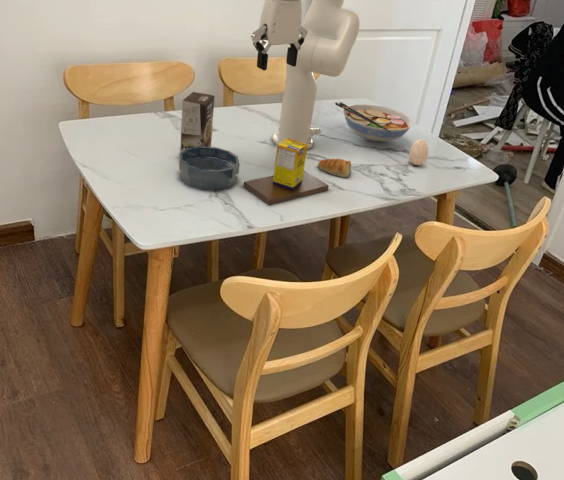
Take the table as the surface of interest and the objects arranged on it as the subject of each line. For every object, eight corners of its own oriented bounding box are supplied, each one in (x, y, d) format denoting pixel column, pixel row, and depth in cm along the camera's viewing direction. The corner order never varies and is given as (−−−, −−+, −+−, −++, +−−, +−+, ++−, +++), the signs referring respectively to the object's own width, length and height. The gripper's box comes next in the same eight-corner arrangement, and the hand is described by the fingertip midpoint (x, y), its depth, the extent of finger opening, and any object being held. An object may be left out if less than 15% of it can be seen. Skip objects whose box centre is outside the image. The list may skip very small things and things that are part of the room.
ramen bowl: (424, 148, 197) (431, 124, 192) (372, 157, 185) (378, 131, 180) (373, 121, 213) (379, 98, 208) (323, 127, 201) (327, 103, 196)
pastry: (315, 172, 170) (317, 159, 168) (319, 163, 176) (321, 151, 174) (348, 179, 169) (351, 166, 167) (351, 170, 175) (353, 157, 172)
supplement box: (301, 182, 159) (308, 143, 153) (292, 190, 155) (298, 150, 149) (281, 176, 161) (287, 137, 155) (271, 184, 156) (277, 143, 150)
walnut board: (301, 173, 168) (302, 168, 167) (327, 190, 161) (328, 185, 160) (243, 186, 156) (243, 181, 155) (269, 205, 150) (269, 199, 149)
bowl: (216, 162, 167) (217, 143, 164) (248, 184, 158) (250, 165, 155) (167, 171, 158) (168, 151, 155) (199, 195, 149) (200, 175, 146)
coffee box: (201, 162, 165) (205, 104, 156) (179, 158, 166) (181, 100, 157) (211, 151, 173) (215, 95, 164) (190, 146, 173) (192, 90, 164)
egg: (413, 159, 188) (419, 135, 183) (427, 166, 185) (434, 141, 180) (402, 163, 184) (409, 138, 180) (417, 169, 181) (424, 144, 177)
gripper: (301, -12, 150) (292, 59, 160) (246, -10, 140) (240, 65, 150) (322, -4, 145) (311, 68, 155) (266, -2, 135) (259, 75, 145)
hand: (276, 66), depth 153 cm, fingers open, 9 cm apart
